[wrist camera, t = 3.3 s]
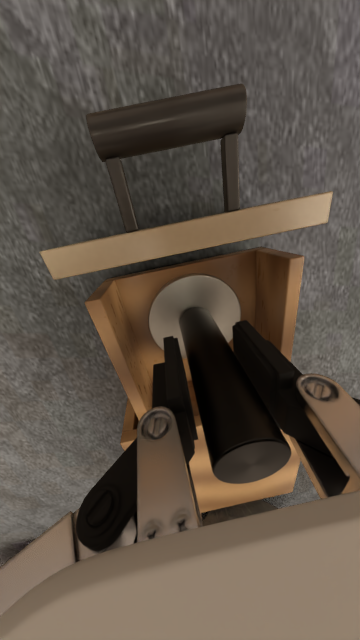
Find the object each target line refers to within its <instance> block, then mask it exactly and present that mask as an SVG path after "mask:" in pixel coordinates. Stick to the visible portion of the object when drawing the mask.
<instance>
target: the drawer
mask: <svg viewBox="0 0 360 640" xmlns="http://www.w3.org/2000/svg"><path fill="white" fill-rule="evenodd" d="M246 108H247V96H246V89H245V86H244V85H243V84H236V85H231V86H226V87H221V88H216V89H211V90H205V91H200V92H195V93H190V94H185V95H180V96H175V97H170V98H165V99H160V100H155V101H150V102H145V103H140V104H134V105H129V106H124V107H119V108H114V109H109V110H104V111H99V112H94V113H89V114H87V115H86V119H87V124H88V128H89V132H90V135H91V138H92V141H93V144H94V146H95V149H96V151H97V154H98V156H99V158H100V159H101V161H102V162H106V165H107V168H108V172H109V175H110V179H111V182H112V185H113V189H114V192H115V196H116V199H117V203H118V206H119V210H120V213H121V216H122V220H123V223H124V227H125V230H126V232H127V233H123V234H118V235H113V236H108V237H103V238H99V239H94V240H89V241H84V242H80V243H75V244H71V245H66V246H62V247H58V248H53V249H49V250H45V251H41V252H40V254H41V256H42V258H43V260H44V262H45V264H46V266H47V267H48V269H49V271H50V273H51V275H52V277H53V279H54V280H56V279H61V278H66V277H71V276H76V275H80V274H85V273H90V272H95V271H100V270H104V269H109V268H114V267H119V266H123V265H128V264H133V263H138V262H143V261H147V260H152V259H157V258H162V257H166V256H171V255H176V254H181V253H186V252H190V251H195V250H200V249H205V248H210V247H214V246H219V245H224V244H229V243H233V242H238V241H243V240H248V239H253V238H257V237H262V236H267V235H272V234H276V233H281V232H286V231H291V230H296V229H300V228H305V227H310V226H315V225H320V224H324V223H327V222H328V217H329V211H330V205H331V200H332V194H333V192H332V191H330V192H325V193H320V194H315V195H309V196H304V197H299V198H294V199H289V200H283V201H278V202H273V203H268V204H263V205H258V206H253V207H249V208H244V209H240V202H239V160H238V135H239V134H240V133H241V131H242V129H243V126H244V122H245V117H246ZM221 138H222V139H221ZM216 139H221V160H222V177H223V194H224V211H225V212H224V213H220V214H215V215H210V216H205V217H200V218H195V219H191V220H186V221H181V222H176V223H171V224H166V225H162V226H157V227H152V228H147V229H142V230H139V227H138V223H137V219H136V215H135V212H134V208H133V204H132V200H131V196H130V192H129V188H128V184H127V181H126V177H125V173H124V169H123V165H122V162H121V160H120V159H122V158H127V157H132V156H137V155H142V154H147V153H152V152H157V151H162V150H167V149H172V148H177V147H182V146H187V145H191V144H196V143H201V142H206V141H211V140H216ZM303 264H304V256H302V255H297V254H292V253H288V252H283V251H278V250H274V249H269V248H265V247H257V248H252V249H248V250H243V251H238V252H233V253H229V254H224V255H219V256H214V257H210V258H205V259H200V260H195V261H191V262H186V263H181V264H176V265H171V266H167V267H162V268H157V269H152V270H148V271H143V272H138V273H133V274H129V275H124V276H119V277H114V278H109V279H106V280H105V281H104V282H103V283H102V284H101V285H100V286H99V287H98V288H97V289H96V290H95V292H94V293H93V294H92V295H91V296H90V297H89V298H88V299H87V300H86V301H85V305H86V307H87V310H88V312H89V314H90V316H91V318H92V320H93V323H94V325H95V327H96V329H97V331H98V333H99V336H100V338H101V340H102V342H103V344H104V346H105V348H106V351H107V353H108V355H109V357H110V359H111V361H112V364H113V366H114V368H115V370H116V372H117V374H118V376H119V379H120V381H121V383H122V385H123V387H124V389H125V392H126V394H127V396H128V398H129V400H130V402H131V405H132V407H133V409H134V411H135V413H136V415H137V417H138V420H139V421H140V418H141V417H142V416H143V415H144V413H146V412H147V411H148V410H150V409H152V392H153V365H154V364H158V363H163V362H165V360H164V350H162V349H161V348H160V347H159V346H158V345H157V344H156V342H155V341H154V339H153V338H152V336H151V333H150V330H149V324H148V317H149V310H150V306H151V303H152V301H153V299H154V297H155V295H156V294H157V293H158V291H159V290H160V289H161V288H162V287H163V286H164V285H166V284H167V283H168V282H170V281H171V280H173V279H175V278H177V277H180V276H183V275H186V274H192V273H203V274H209V275H212V276H215V277H217V278H219V279H221V280H223V281H224V282H225V283H226V284H228V285H229V286H230V287H231V288H232V289H233V291H234V292H235V293H236V295H237V297H238V299H239V302H240V306H241V320H240V321H244V320H247V321H248V322H249V323H250V324H251V325H252V326H253V327H254V328H255V329H256V331H257V332H258V333H259V334H260V335H261V336H262V337H263V338H264V339H265V340H269V341H270V342H271V343H272V344H273V345H274V346H275V347H276V348H277V349H278V350H279V351H280V352H281V353H282V354H283V355H284V356H285V357H286V358H287V359H288V360H289V361H291V354H292V346H293V339H294V331H295V324H296V316H297V309H298V301H299V294H300V286H301V279H302V271H303ZM228 344H229V346H230V347H231V349H232V351H233V352H234V350H233V338H232V339H231V340H230V342H229V343H228ZM182 360H183V364H184V369H185V373H186V378H187V383H188V388H189V393H190V398H191V404H192V409H193V414H194V416H198V415H200V414H199V410H198V405H197V401H196V396H195V392H194V388H193V383H192V379H191V374H190V370H189V365H188V361H187V359H184V358H182Z"/></svg>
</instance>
